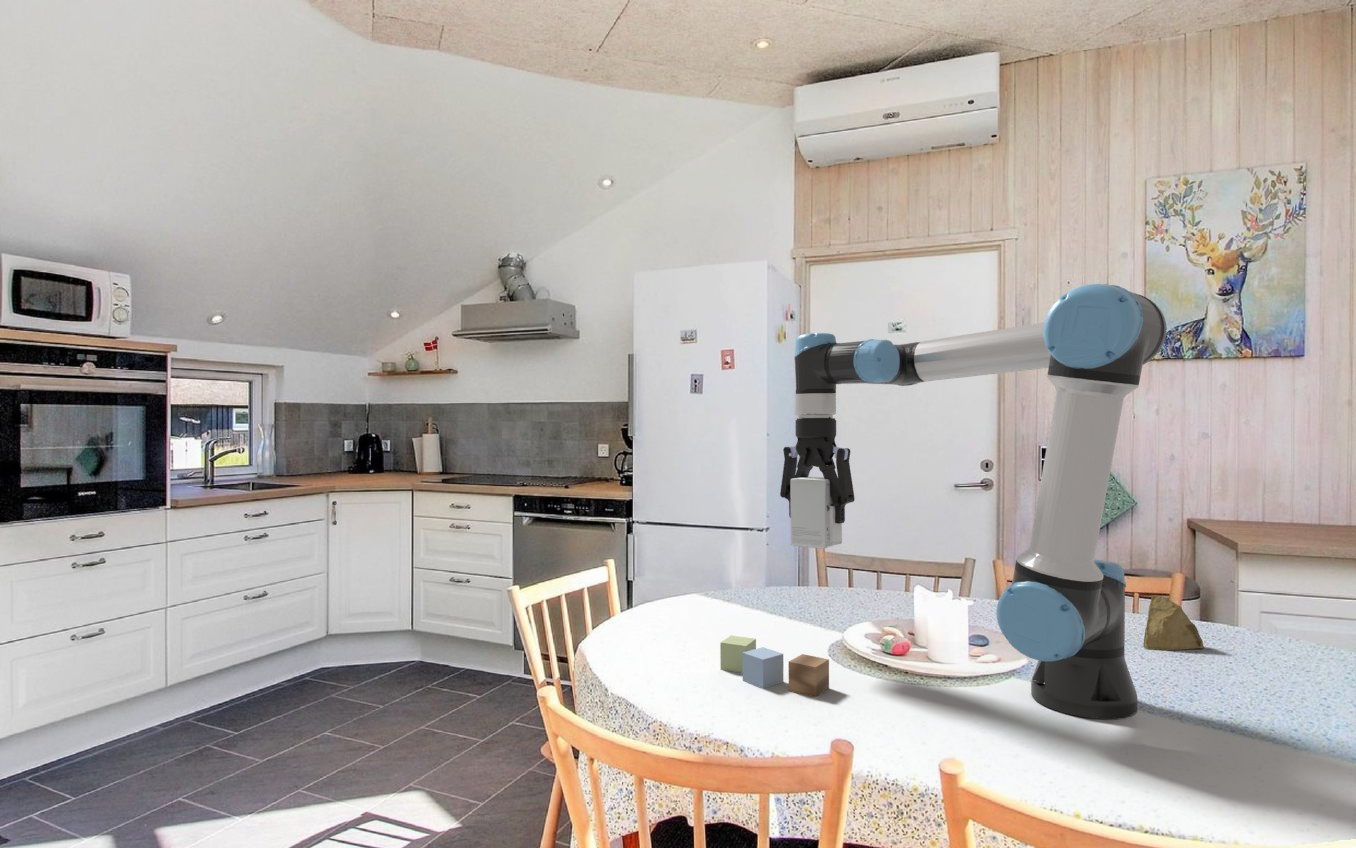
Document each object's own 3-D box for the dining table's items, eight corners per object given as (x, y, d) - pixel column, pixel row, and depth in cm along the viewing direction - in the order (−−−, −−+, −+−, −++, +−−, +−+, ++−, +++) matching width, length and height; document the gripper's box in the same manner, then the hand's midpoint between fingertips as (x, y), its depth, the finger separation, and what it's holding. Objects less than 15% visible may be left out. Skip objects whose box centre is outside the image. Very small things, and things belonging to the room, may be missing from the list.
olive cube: (756, 665, 143) (755, 638, 143) (746, 673, 138) (746, 646, 138) (731, 662, 145) (731, 635, 145) (720, 669, 140) (720, 642, 140)
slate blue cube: (783, 682, 134) (783, 653, 134) (762, 689, 131) (762, 659, 130) (762, 675, 138) (762, 647, 137) (742, 681, 134) (742, 652, 134)
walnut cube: (829, 688, 130) (828, 659, 130) (815, 697, 126) (815, 667, 126) (802, 682, 133) (802, 654, 133) (788, 691, 129) (788, 661, 129)
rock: (1206, 632, 154) (1149, 618, 160) (1211, 604, 149) (1152, 591, 155) (1199, 675, 148) (1139, 659, 154) (1204, 648, 143) (1142, 632, 149)
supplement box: (825, 549, 139) (825, 479, 139) (789, 545, 144) (788, 478, 144) (843, 544, 145) (842, 477, 145) (808, 540, 150) (807, 475, 149)
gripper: (875, 416, 139) (875, 542, 139) (784, 416, 154) (785, 530, 154) (851, 416, 134) (852, 547, 134) (760, 417, 149) (761, 534, 149)
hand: (816, 538), depth 144 cm, fingers closed on supplement box, 8 cm apart
